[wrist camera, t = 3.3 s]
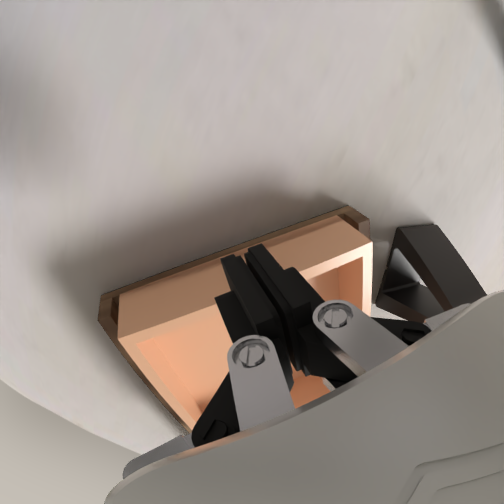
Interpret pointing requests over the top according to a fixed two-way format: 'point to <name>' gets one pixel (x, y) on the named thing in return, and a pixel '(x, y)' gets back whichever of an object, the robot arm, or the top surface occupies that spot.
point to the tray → (111, 299)
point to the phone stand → (425, 276)
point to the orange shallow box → (210, 320)
